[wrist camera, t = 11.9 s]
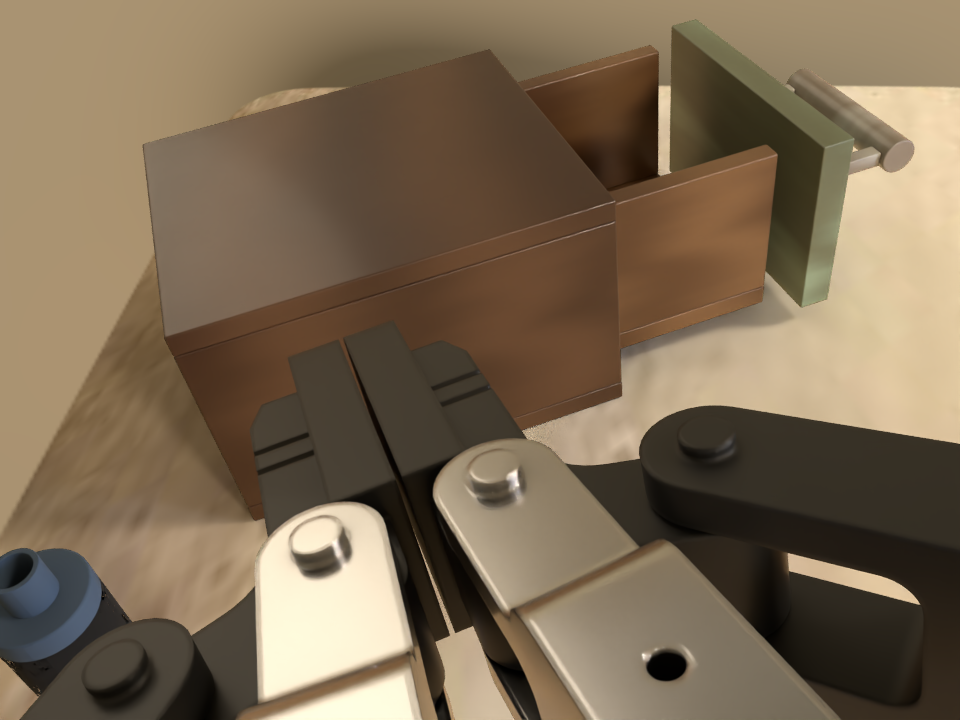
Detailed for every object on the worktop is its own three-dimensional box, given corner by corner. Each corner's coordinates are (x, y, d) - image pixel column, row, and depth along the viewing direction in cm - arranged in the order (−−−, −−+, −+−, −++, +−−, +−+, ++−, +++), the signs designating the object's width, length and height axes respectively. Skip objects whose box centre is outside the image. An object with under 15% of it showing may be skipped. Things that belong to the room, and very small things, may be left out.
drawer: (777, 137, 46) (793, -9, 41) (930, 265, 38) (972, 102, 32) (428, 243, 43) (399, 101, 38) (511, 405, 35) (487, 251, 30)
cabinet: (512, 226, 45) (490, 48, 38) (622, 396, 36) (616, 200, 29) (216, 316, 43) (142, 143, 36) (254, 521, 34) (164, 338, 27)
